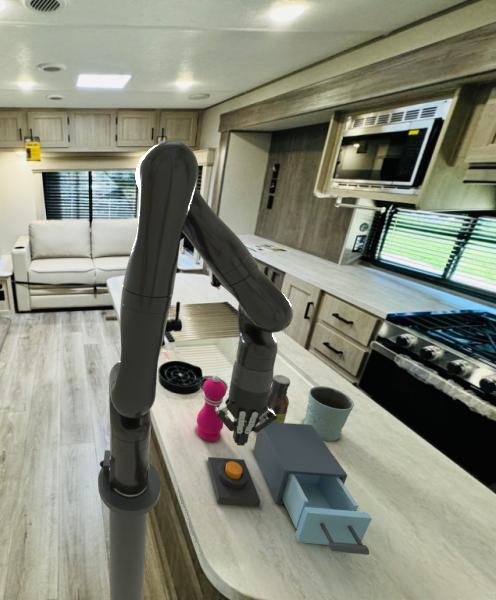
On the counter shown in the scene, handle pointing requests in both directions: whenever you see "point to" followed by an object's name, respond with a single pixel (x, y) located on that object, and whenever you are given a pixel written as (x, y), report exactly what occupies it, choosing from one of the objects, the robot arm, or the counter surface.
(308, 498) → the light blue drawer
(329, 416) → the embossed plant pot
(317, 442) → the grey drawer cabinet
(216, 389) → the pepper mill
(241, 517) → the counter surface
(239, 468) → the button
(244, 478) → the block
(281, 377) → the sauce bottle
